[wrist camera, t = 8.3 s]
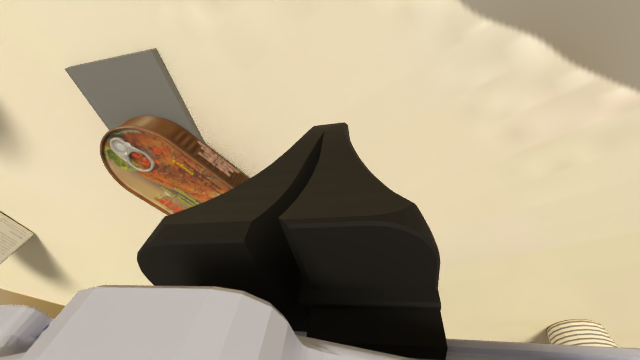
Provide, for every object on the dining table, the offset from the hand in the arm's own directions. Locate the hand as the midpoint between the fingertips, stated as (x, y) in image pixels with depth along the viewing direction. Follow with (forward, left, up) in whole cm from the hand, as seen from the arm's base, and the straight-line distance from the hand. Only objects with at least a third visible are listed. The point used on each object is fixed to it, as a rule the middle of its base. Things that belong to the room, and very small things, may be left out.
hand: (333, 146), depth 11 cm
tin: (-5, +12, -9) cm, 16 cm away
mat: (-5, +18, -10) cm, 21 cm away
